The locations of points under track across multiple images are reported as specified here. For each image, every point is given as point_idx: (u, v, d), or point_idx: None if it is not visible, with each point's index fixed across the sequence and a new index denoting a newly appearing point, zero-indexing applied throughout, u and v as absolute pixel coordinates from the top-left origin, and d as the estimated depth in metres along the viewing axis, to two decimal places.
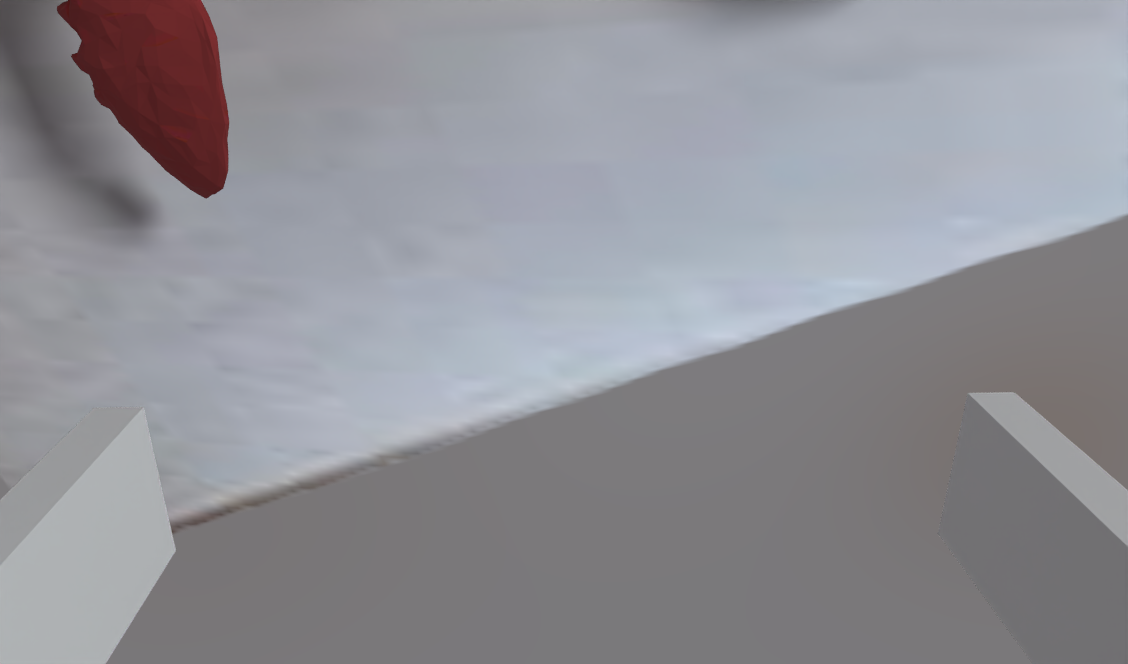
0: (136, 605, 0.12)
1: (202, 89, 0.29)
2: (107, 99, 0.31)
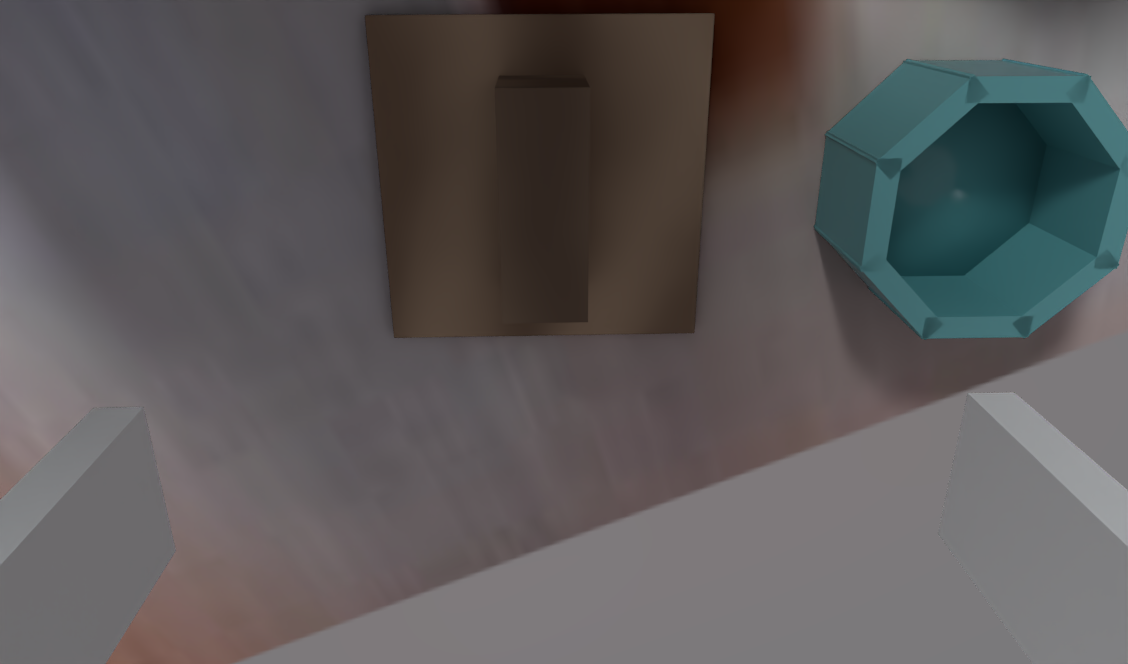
0: (136, 605, 0.12)
1: None
2: None
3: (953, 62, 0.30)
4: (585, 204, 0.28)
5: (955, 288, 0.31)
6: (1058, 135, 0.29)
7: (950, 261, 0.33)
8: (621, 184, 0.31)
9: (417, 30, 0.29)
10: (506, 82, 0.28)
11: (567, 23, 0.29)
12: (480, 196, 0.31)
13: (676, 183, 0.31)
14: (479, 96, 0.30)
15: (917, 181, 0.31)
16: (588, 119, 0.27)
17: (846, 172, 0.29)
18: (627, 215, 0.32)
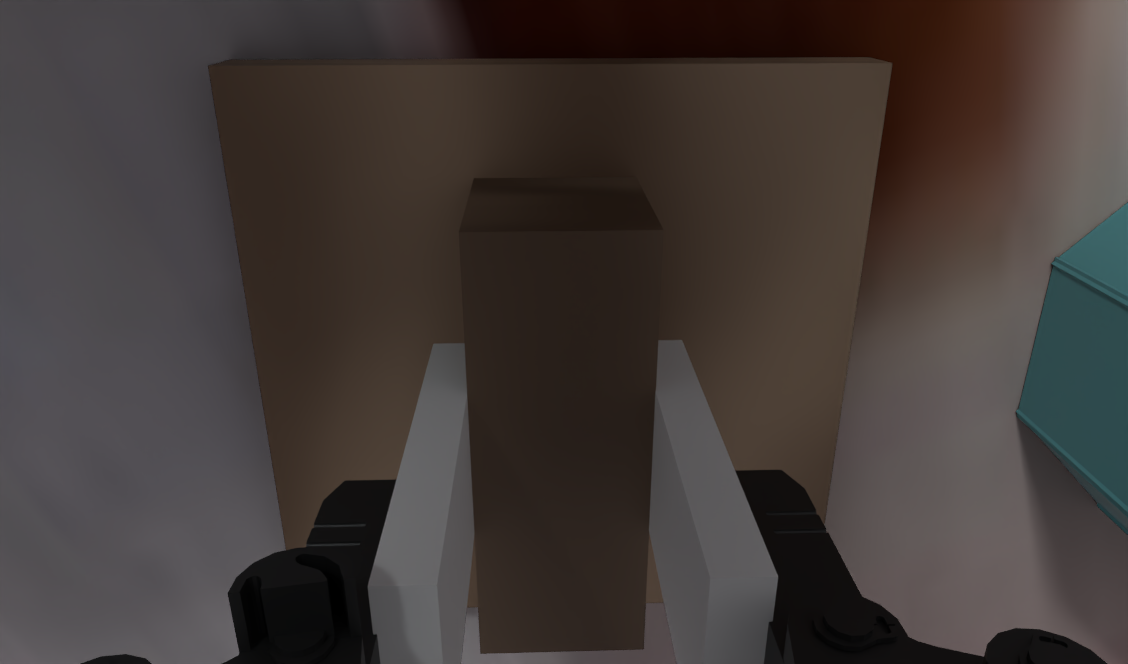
0: None
1: None
2: None
3: None
4: (645, 451, 0.14)
5: None
6: None
7: None
8: (699, 367, 0.17)
9: (313, 94, 0.15)
10: (486, 206, 0.13)
11: (606, 81, 0.15)
12: None
13: (798, 364, 0.17)
14: (437, 216, 0.16)
15: None
16: (657, 292, 0.13)
17: (1122, 350, 0.16)
18: None
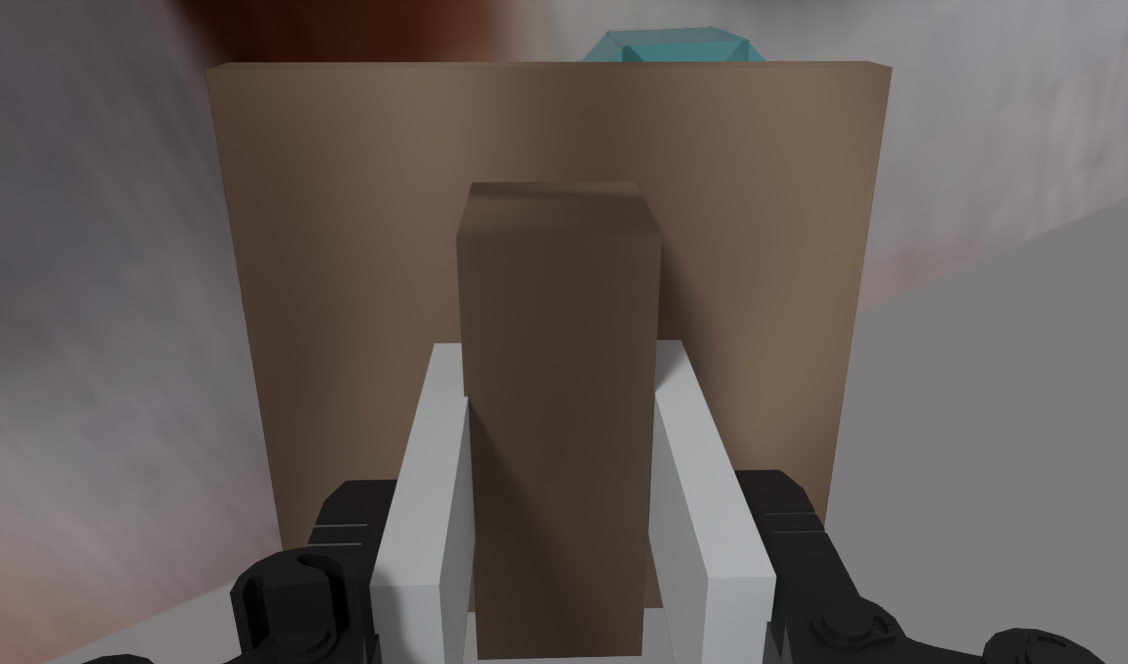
0: None
1: None
2: None
3: (651, 31, 0.29)
4: (643, 457, 0.14)
5: None
6: None
7: None
8: (698, 371, 0.17)
9: (311, 98, 0.15)
10: (483, 211, 0.13)
11: (605, 85, 0.15)
12: None
13: (798, 369, 0.17)
14: (435, 220, 0.16)
15: None
16: (655, 298, 0.13)
17: None
18: None
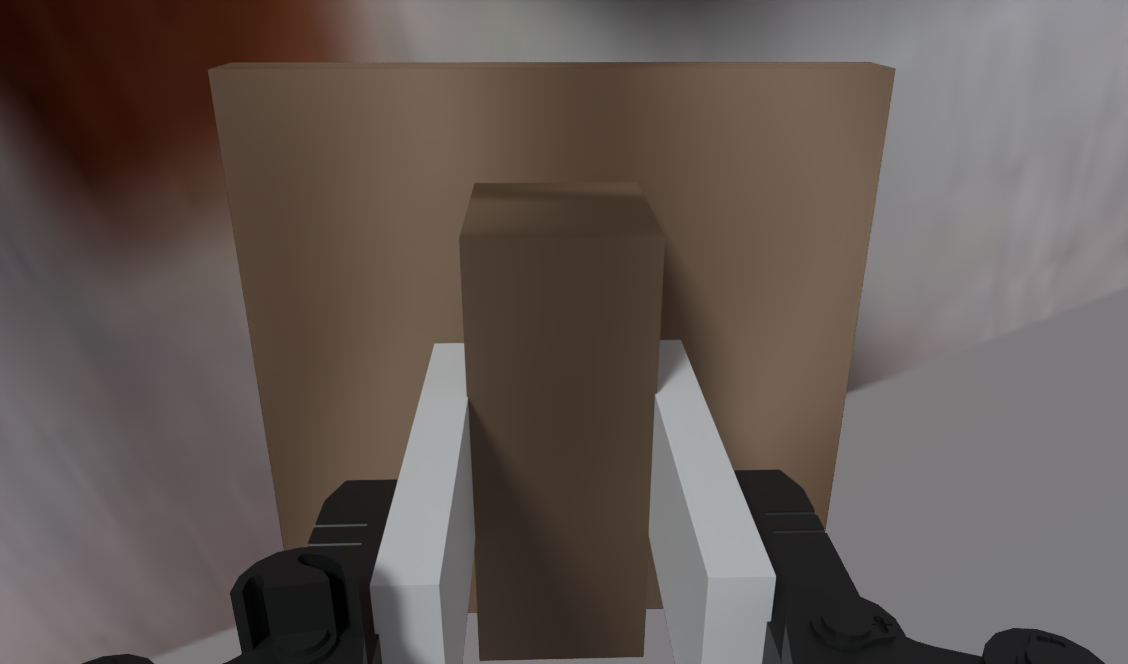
0: None
1: None
2: None
3: None
4: (646, 458, 0.14)
5: None
6: None
7: None
8: (700, 372, 0.17)
9: (313, 98, 0.15)
10: (486, 212, 0.13)
11: (608, 86, 0.15)
12: None
13: (800, 370, 0.17)
14: (437, 220, 0.16)
15: None
16: (658, 299, 0.13)
17: None
18: None
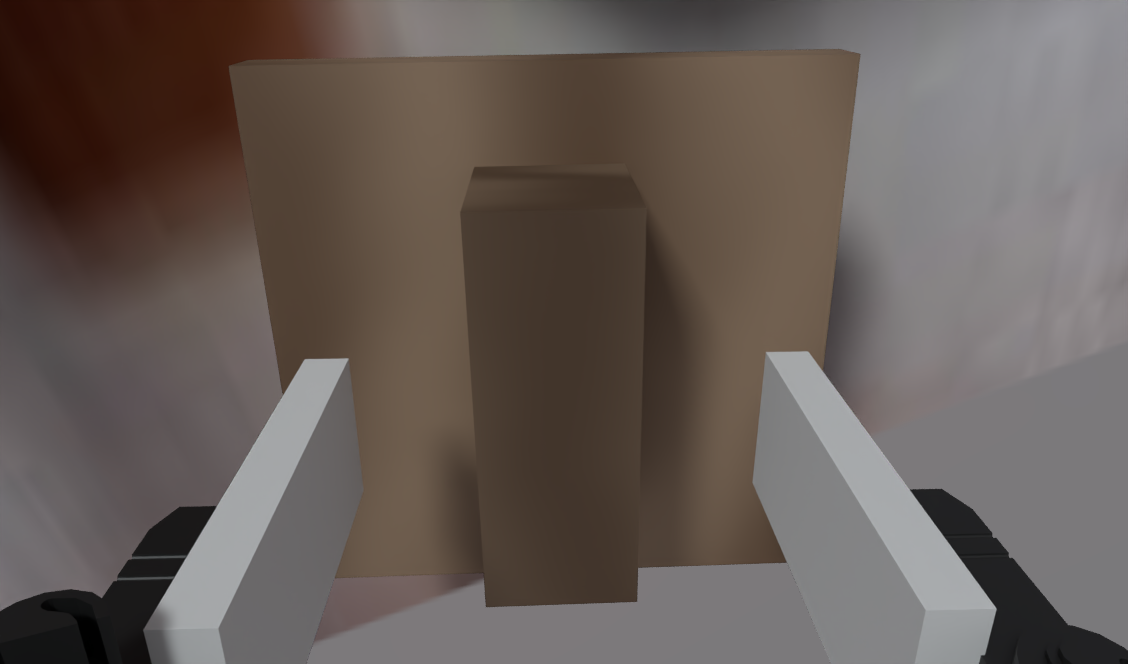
0: (346, 533, 0.14)
1: None
2: None
3: None
4: (635, 413, 0.15)
5: None
6: None
7: None
8: (687, 341, 0.18)
9: (325, 91, 0.16)
10: (485, 190, 0.15)
11: (595, 74, 0.16)
12: (446, 363, 0.18)
13: (780, 338, 0.18)
14: (440, 202, 0.17)
15: None
16: (642, 266, 0.14)
17: None
18: (696, 389, 0.19)
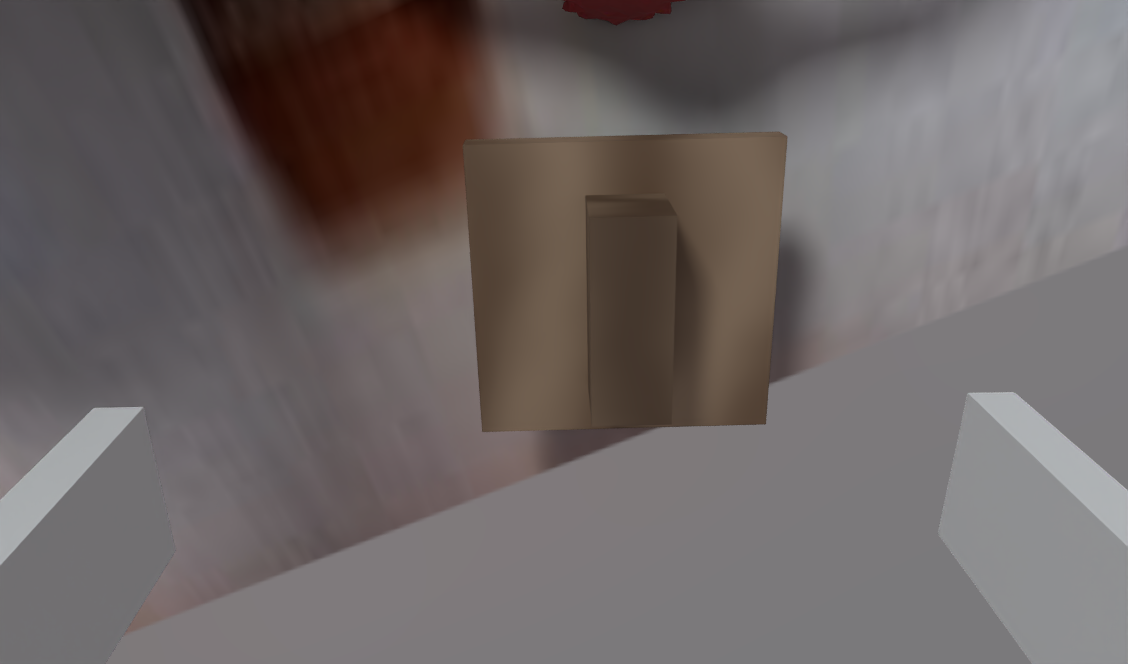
0: (136, 605, 0.13)
1: None
2: None
3: None
4: (671, 319, 0.30)
5: None
6: None
7: None
8: (698, 290, 0.33)
9: (510, 157, 0.31)
10: (596, 207, 0.30)
11: (649, 147, 0.31)
12: (565, 302, 0.33)
13: (750, 288, 0.33)
14: (567, 214, 0.32)
15: None
16: (675, 243, 0.29)
17: None
18: (703, 318, 0.34)
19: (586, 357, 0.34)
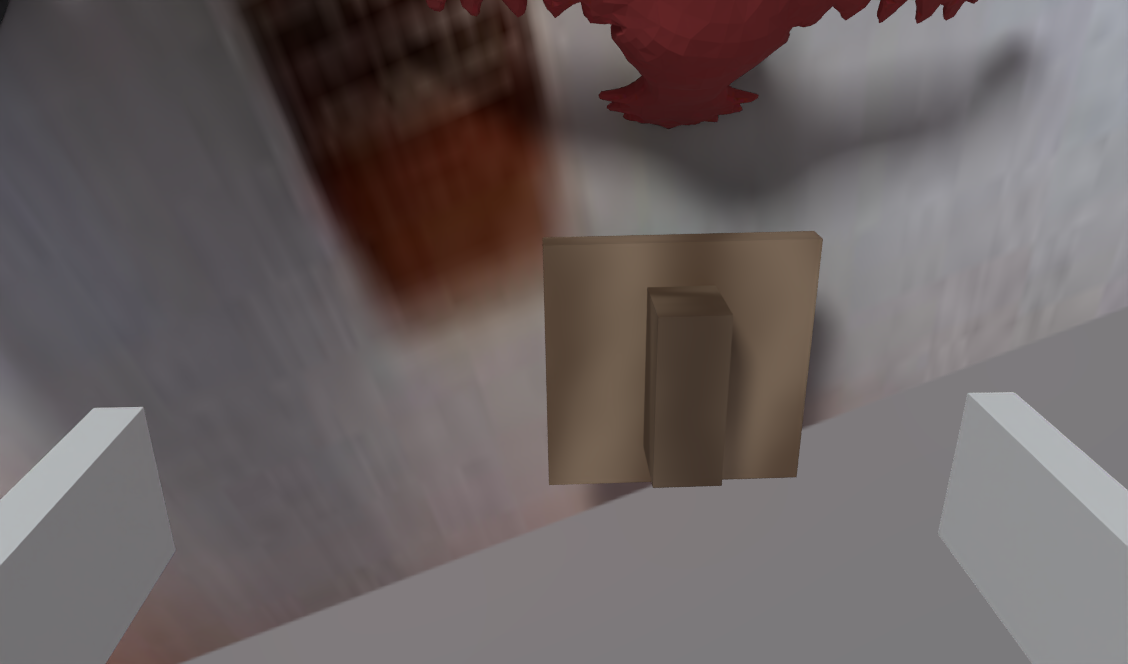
0: (136, 605, 0.12)
1: None
2: None
3: None
4: (724, 399, 0.35)
5: None
6: None
7: None
8: (741, 365, 0.38)
9: (584, 255, 0.36)
10: (661, 304, 0.34)
11: (704, 248, 0.36)
12: (626, 376, 0.38)
13: (786, 364, 0.38)
14: (630, 302, 0.37)
15: None
16: (730, 337, 0.34)
17: None
18: (745, 388, 0.39)
19: (642, 422, 0.39)
